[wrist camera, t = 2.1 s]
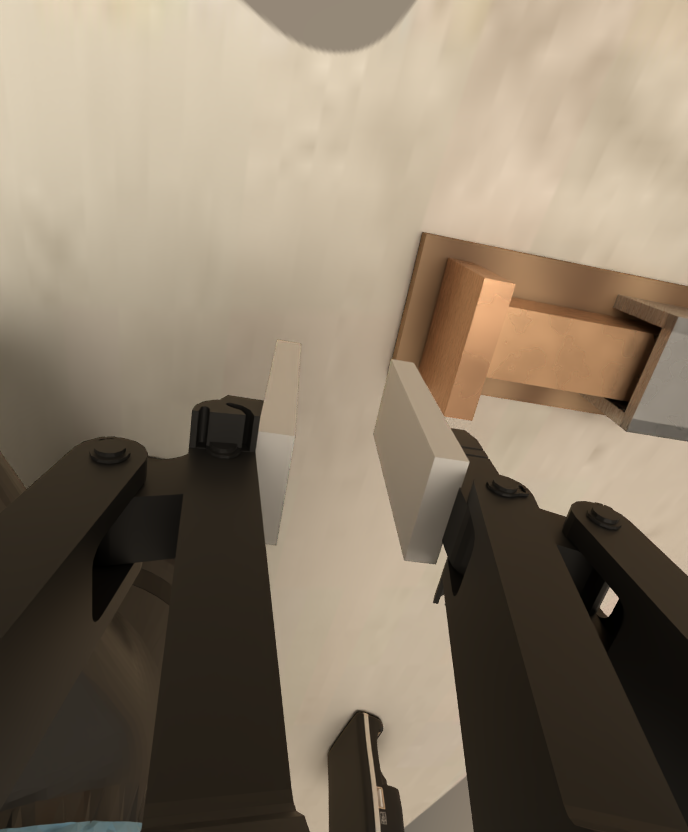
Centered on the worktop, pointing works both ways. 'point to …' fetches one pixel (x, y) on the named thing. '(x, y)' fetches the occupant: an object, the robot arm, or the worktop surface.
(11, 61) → the worktop surface
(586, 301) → the board
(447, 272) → the wood grain post
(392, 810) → the battery charger
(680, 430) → the grey concrete cube
